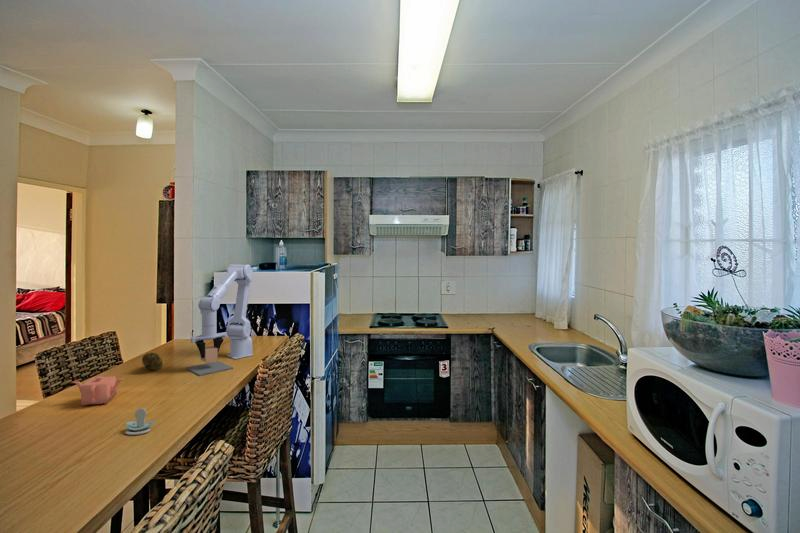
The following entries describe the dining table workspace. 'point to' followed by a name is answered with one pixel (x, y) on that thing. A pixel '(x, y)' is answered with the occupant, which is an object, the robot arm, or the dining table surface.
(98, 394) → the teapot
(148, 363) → the potato
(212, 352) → the cube
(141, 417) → the pacifier
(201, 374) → the mat
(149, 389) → the dining table surface
